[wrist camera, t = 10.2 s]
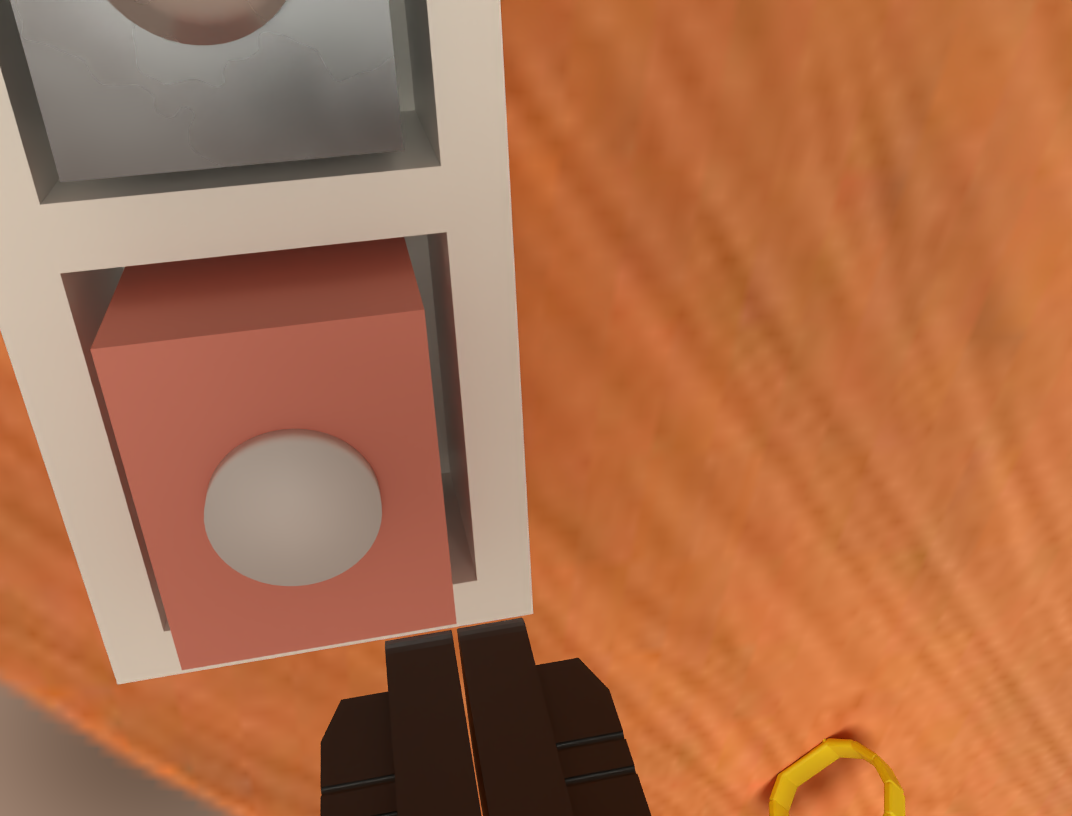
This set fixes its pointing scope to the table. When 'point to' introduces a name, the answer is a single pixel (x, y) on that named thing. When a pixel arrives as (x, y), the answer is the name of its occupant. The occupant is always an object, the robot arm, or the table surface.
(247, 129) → the grey button block
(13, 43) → the frame
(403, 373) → the red button block
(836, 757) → the watch
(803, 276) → the table surface
